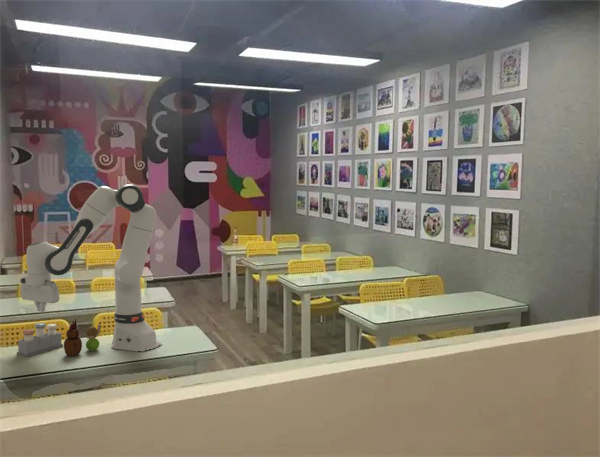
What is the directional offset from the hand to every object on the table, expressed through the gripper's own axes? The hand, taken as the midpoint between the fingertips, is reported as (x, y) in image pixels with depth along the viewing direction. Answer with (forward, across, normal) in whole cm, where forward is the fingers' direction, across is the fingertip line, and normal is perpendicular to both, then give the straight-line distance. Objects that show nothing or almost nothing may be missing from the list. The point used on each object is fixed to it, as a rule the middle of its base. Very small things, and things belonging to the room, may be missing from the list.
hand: (41, 311), depth 221 cm
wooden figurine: (+17, -17, -1) cm, 25 cm away
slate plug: (+13, -1, +1) cm, 13 cm away
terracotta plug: (+15, 0, +7) cm, 16 cm away
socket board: (+17, 0, +2) cm, 17 cm away
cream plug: (+15, -1, -4) cm, 15 cm away
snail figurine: (+18, -20, -10) cm, 28 cm away
